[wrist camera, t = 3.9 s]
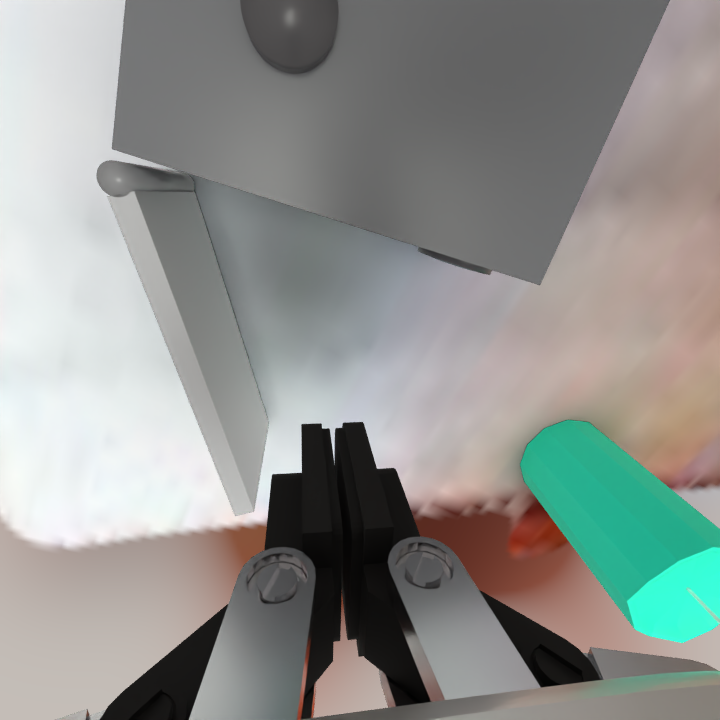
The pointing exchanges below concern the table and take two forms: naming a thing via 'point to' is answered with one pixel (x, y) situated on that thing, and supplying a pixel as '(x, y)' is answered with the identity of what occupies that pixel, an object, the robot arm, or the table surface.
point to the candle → (628, 530)
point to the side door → (193, 317)
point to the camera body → (390, 110)
